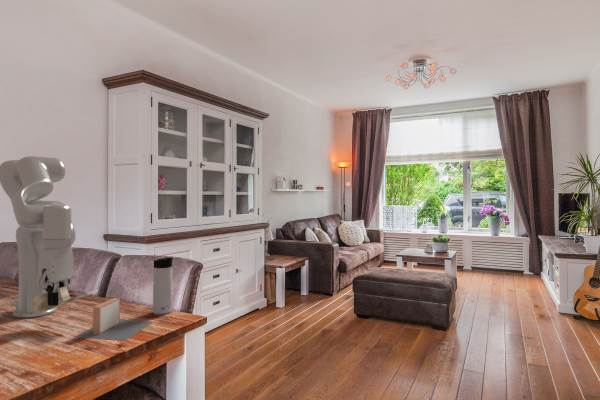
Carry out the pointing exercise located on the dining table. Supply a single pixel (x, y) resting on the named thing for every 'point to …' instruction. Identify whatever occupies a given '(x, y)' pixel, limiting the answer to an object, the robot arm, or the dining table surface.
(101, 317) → the tile
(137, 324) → the grey square plate
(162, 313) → the travel mug
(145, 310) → the dining table surface
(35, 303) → the beige rectangular bar
